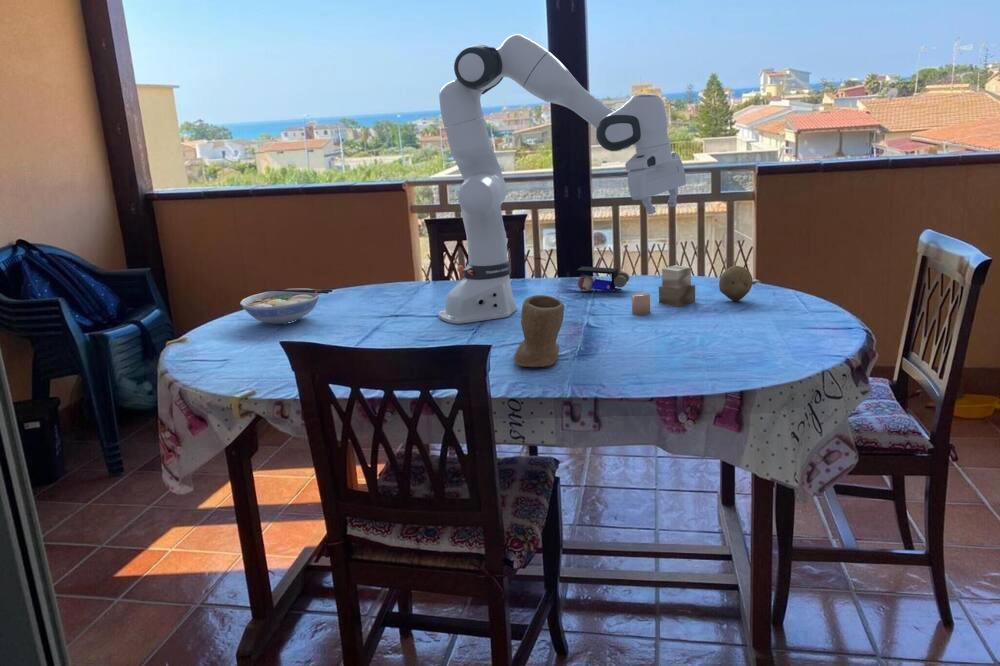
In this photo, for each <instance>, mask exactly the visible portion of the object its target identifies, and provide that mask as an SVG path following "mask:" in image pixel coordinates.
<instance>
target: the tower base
mask: <svg viewBox="0 0 1000 666" xmlns="http://www.w3.org/2000/svg"><path fill="white" fill-rule="evenodd" d="M660 303H662V305H665V306H666V305H667V306H671V307H677V308H680V307H683V306H686V305H690V304H694V303H696V285H695V284H694V283H693V284H692V283H691V285H690V286H686V287H683V288H679V289H676V288H670V287H664V286H662V285H659V286H658V304H660Z"/></svg>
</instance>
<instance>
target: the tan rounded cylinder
mask: <svg viewBox="0 0 1000 666" xmlns="http://www.w3.org/2000/svg"><path fill="white" fill-rule="evenodd" d="M631 313H632V315H636V316H646V315H650V314H651V294H650V293H649V292H635V293H632V294H631Z"/></svg>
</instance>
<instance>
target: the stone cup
mask: <svg viewBox="0 0 1000 666" xmlns="http://www.w3.org/2000/svg"><path fill="white" fill-rule="evenodd" d="M564 313H565V305H564V303H563V302H562V301H561V300H560V299H559V298H556V296H555V297H554V296H550V295H544V294H537V295H536V294H535V295H531V296H528V297H527V298H526V299H524V301H523V303H522V306H521V313H520V315H521V317H520V318H521V320H520V325H521V329H522V333H523V337H524V340H522V341H521V342H520V344H519V345H518V347H517V350H516V351H515V353H514V356H513V359H512V361H513V363H514V364H515V365H516V366H519V367H527V368H540V367H541V368H542V367H543V368H544V367H549V366H551V365H553V364H554V363H555V362H556V361H557V359H558V357H559V352H560V348H561V346H560V344H558V343H557V338H558V336H559V333H560V330H561V328H562V324H563V321H564Z"/></svg>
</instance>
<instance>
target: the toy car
mask: <svg viewBox="0 0 1000 666" xmlns="http://www.w3.org/2000/svg"><path fill="white" fill-rule="evenodd" d="M576 273H591V274H607V275H611V280H607V279H598V278H595V279H594V278H593V277H592V276H591V275H589V274H588V275H587V274H583V275H581V276H580V277H579V278H578V280H577V287H578V288H579V290H580V291H582V292H589V291H591V290H592V289H593V290H599V291H600V290H601V291H607V292H611V293H619V294H620V293H621V291H623V289H622V288H623V287H625V286H626V285H627V283H628V282H629V281H630V274H628V273H627V272H624V271H622V272H619V268H617V267H615V268H614V267H598V266H597V267H596V266H595V267H594V266H580V267H579V268H577V269H576Z"/></svg>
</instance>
